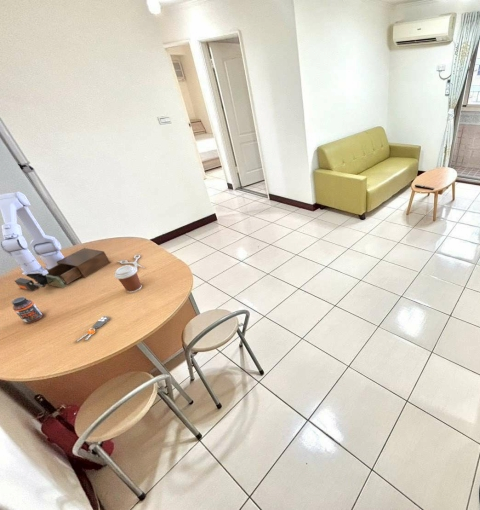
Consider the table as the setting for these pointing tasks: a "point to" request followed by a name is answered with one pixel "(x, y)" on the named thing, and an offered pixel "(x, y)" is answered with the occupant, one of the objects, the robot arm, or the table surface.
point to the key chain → (96, 326)
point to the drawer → (61, 275)
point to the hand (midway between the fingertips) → (44, 283)
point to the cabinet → (86, 261)
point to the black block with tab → (26, 284)
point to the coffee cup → (128, 278)
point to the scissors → (132, 262)
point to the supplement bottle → (26, 310)
